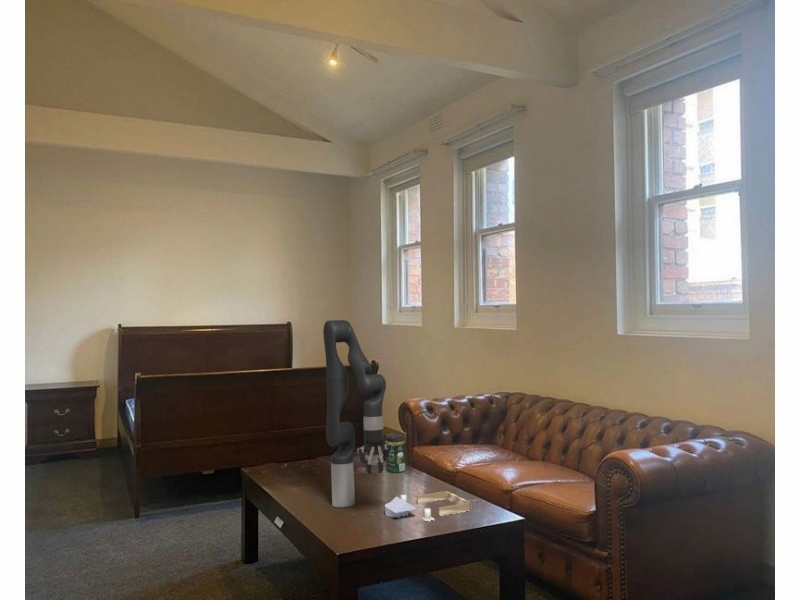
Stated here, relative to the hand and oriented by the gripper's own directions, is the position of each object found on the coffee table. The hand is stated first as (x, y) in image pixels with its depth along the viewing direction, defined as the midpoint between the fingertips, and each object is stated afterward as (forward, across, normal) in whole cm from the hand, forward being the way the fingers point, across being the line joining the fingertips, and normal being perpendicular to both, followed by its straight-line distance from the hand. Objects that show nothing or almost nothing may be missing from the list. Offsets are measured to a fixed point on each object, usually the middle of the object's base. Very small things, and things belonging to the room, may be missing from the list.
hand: (374, 473), depth 233 cm
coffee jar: (+17, -36, -62) cm, 74 cm away
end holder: (+17, -28, 0) cm, 33 cm away
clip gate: (+17, -16, 0) cm, 24 cm away
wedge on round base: (+18, -10, 0) cm, 20 cm away
